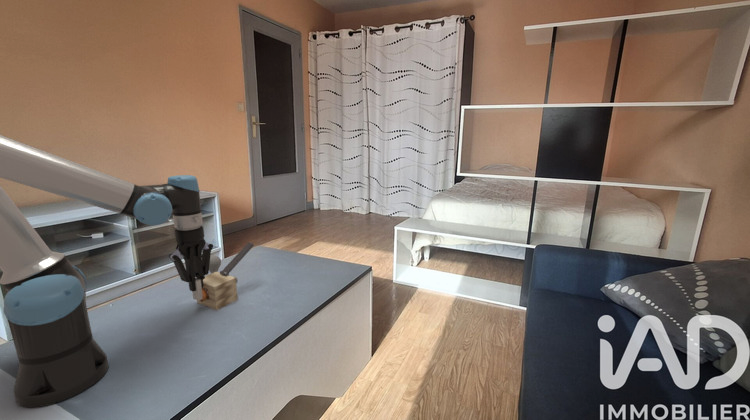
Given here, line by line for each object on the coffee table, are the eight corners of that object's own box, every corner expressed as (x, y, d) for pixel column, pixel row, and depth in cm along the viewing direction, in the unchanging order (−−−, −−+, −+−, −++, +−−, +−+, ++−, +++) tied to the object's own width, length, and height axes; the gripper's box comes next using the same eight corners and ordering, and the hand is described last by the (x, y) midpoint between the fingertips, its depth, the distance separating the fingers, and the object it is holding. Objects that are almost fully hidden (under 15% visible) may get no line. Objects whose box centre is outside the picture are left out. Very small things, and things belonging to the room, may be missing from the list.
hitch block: (216, 310, 102) (214, 287, 100) (197, 302, 106) (194, 280, 105) (237, 299, 109) (235, 277, 107) (218, 292, 113) (216, 271, 111)
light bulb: (218, 283, 120) (215, 258, 118) (204, 283, 120) (201, 258, 118) (225, 277, 126) (222, 253, 123) (211, 277, 126) (209, 253, 123)
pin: (204, 303, 101) (203, 291, 100) (196, 299, 103) (195, 288, 102) (239, 286, 113) (238, 275, 112) (231, 283, 114) (230, 273, 113)
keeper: (227, 276, 108) (225, 274, 107) (220, 274, 109) (219, 272, 109) (254, 245, 117) (253, 243, 117) (248, 244, 119) (247, 242, 118)
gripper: (174, 234, 88) (185, 311, 94) (216, 223, 100) (224, 292, 105) (159, 230, 92) (170, 305, 97) (201, 220, 103) (209, 287, 108)
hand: (198, 298), depth 101 cm, fingers closed
